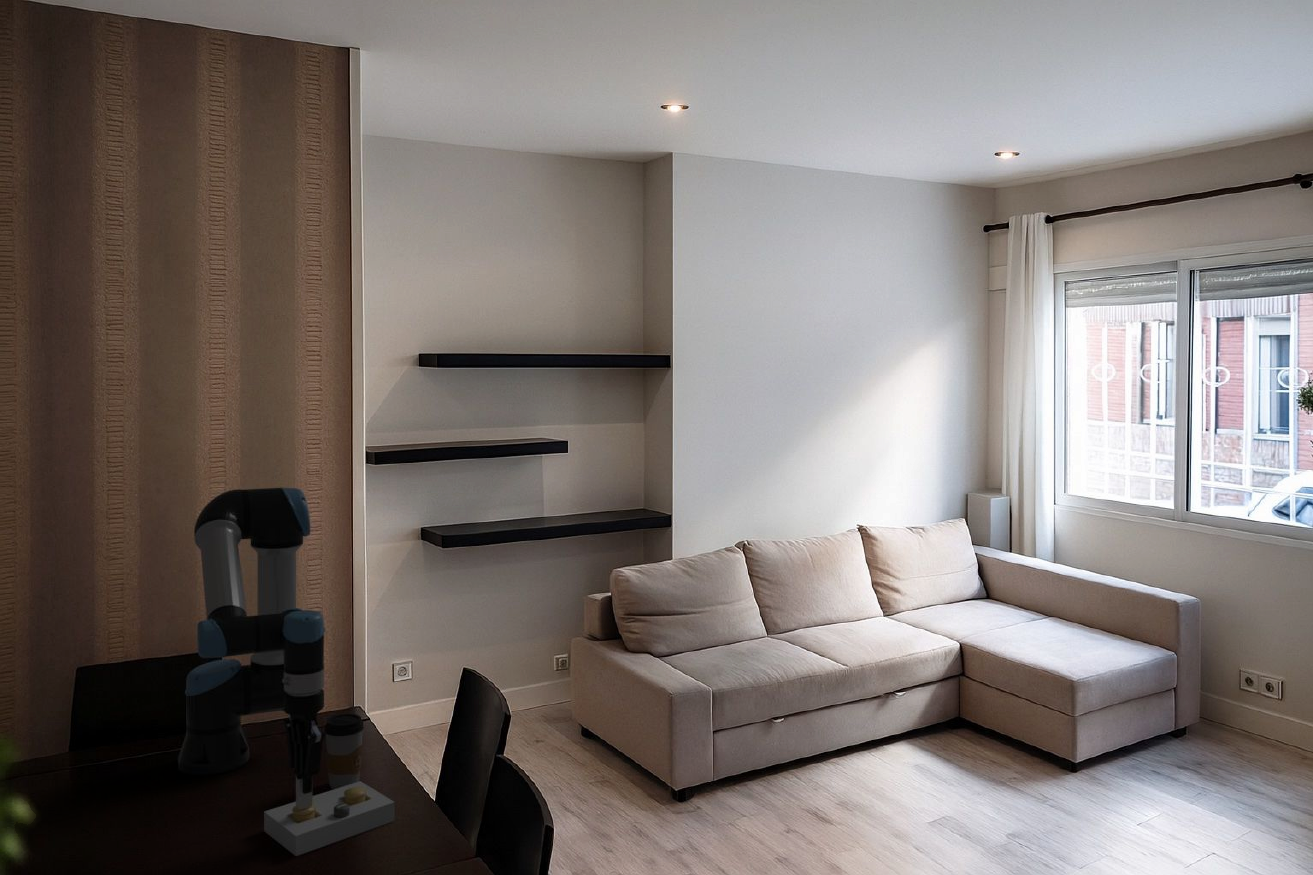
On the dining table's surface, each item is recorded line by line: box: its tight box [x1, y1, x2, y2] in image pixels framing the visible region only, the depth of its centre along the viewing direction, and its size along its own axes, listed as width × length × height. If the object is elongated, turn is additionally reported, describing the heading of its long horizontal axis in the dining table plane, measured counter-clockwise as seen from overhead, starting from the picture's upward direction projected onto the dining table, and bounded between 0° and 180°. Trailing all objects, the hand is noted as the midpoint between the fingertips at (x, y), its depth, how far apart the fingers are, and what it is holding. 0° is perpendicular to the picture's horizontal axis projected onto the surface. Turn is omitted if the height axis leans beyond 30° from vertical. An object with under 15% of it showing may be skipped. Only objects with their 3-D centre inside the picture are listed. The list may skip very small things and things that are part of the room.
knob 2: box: [344, 787, 366, 806], centre depth 196 cm, size 4×4×4 cm
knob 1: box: [292, 804, 316, 823], centre depth 188 cm, size 4×4×4 cm
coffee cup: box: [324, 713, 364, 790], centre depth 211 cm, size 8×8×15 cm
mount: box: [263, 780, 395, 857], centre depth 192 cm, size 14×21×6 cm, turn 136°
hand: (304, 806), depth 188 cm, fingers closed
